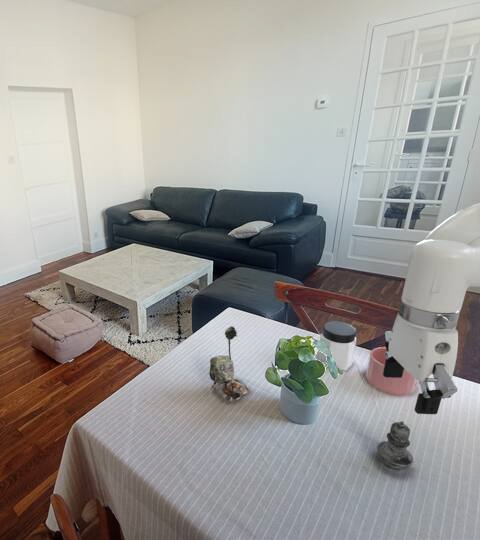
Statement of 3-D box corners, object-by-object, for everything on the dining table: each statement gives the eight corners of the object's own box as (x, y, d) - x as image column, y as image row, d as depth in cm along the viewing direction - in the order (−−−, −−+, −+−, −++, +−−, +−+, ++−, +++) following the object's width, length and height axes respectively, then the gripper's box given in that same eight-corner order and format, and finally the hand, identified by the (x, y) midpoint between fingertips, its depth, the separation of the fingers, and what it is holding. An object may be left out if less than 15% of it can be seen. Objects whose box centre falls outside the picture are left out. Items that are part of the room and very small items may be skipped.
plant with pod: (203, 386, 98) (201, 327, 91) (240, 380, 99) (241, 320, 92) (213, 406, 90) (212, 343, 83) (253, 399, 91) (256, 335, 84)
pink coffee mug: (378, 396, 88) (383, 370, 85) (358, 370, 97) (362, 347, 94) (440, 397, 85) (447, 371, 82) (413, 371, 95) (419, 347, 92)
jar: (349, 357, 103) (355, 323, 99) (354, 373, 96) (360, 337, 92) (316, 352, 107) (320, 319, 103) (318, 368, 100) (322, 333, 96)
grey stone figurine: (377, 449, 74) (386, 405, 70) (412, 464, 70) (424, 419, 65) (371, 467, 70) (380, 423, 66) (407, 485, 66) (419, 438, 62)
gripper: (498, 340, 49) (467, 431, 55) (418, 291, 65) (401, 365, 71) (438, 340, 50) (414, 429, 56) (375, 292, 66) (361, 364, 72)
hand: (407, 393), depth 63 cm, fingers open, 9 cm apart
